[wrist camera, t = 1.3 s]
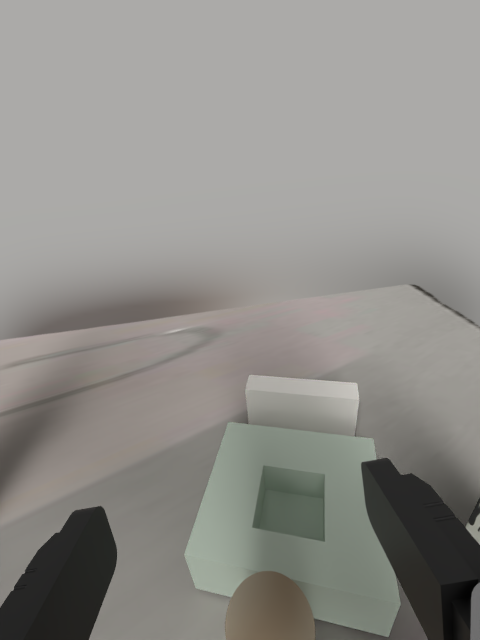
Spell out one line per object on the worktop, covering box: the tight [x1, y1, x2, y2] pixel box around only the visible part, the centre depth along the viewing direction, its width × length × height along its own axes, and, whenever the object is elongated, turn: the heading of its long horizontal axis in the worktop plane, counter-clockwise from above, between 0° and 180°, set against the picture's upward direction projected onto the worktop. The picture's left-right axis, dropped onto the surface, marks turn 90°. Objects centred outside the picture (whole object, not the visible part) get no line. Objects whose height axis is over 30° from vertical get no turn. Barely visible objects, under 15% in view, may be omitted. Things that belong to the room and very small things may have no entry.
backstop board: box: [245, 375, 359, 436], centre depth 42 cm, size 14×3×7 cm, turn 77°
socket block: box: [184, 422, 401, 637], centre depth 31 cm, size 16×14×6 cm
